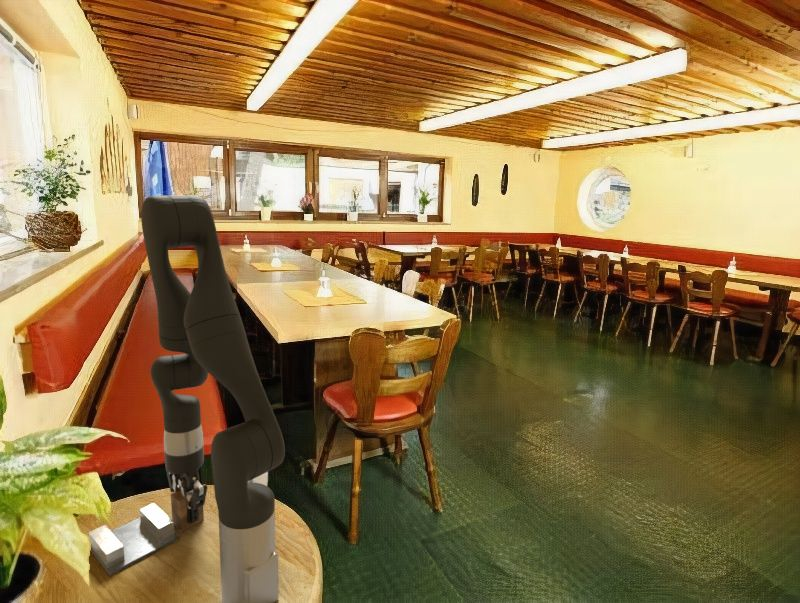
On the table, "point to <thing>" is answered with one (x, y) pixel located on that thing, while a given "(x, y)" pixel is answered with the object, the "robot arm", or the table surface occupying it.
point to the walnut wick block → (182, 511)
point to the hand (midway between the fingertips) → (187, 516)
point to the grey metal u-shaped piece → (132, 539)
